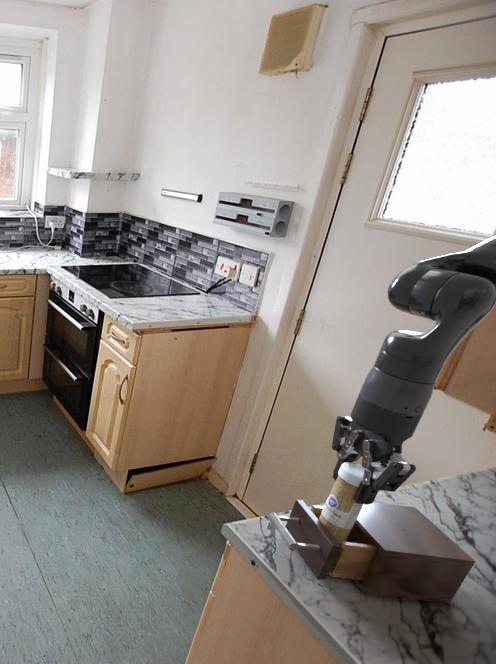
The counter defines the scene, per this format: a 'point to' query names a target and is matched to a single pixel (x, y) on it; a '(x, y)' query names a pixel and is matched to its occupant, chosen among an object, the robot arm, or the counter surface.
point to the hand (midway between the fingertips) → (350, 490)
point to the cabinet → (411, 555)
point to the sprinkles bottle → (343, 502)
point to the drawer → (325, 544)
